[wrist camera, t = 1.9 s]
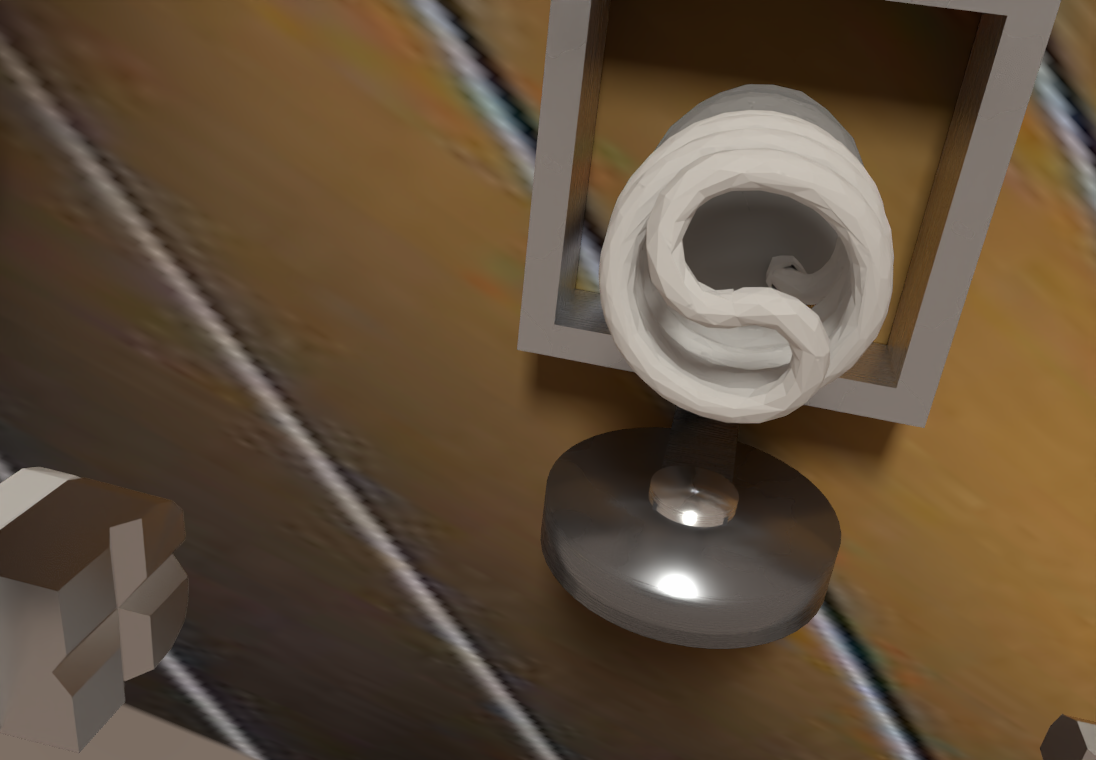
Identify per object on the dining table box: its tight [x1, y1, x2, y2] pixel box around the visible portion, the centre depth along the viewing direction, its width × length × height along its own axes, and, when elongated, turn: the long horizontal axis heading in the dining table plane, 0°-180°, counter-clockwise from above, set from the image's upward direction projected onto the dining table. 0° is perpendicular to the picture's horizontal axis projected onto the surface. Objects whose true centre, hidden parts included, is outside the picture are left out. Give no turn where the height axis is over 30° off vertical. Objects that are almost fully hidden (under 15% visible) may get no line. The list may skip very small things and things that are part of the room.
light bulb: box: [599, 84, 894, 423], centre depth 22 cm, size 6×6×12 cm
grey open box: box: [517, 0, 1061, 649], centre depth 24 cm, size 16×12×9 cm
